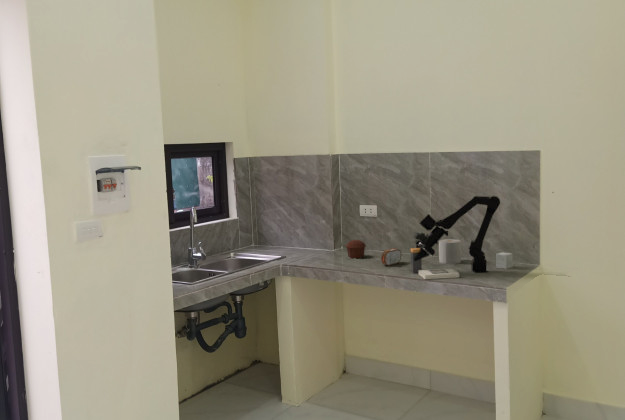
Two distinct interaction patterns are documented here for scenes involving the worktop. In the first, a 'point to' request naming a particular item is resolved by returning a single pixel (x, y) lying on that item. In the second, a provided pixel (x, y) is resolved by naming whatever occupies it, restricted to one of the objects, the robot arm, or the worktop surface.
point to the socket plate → (438, 273)
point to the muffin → (356, 249)
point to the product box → (504, 260)
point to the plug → (415, 264)
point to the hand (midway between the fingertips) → (413, 259)
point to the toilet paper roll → (450, 251)
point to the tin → (391, 256)
